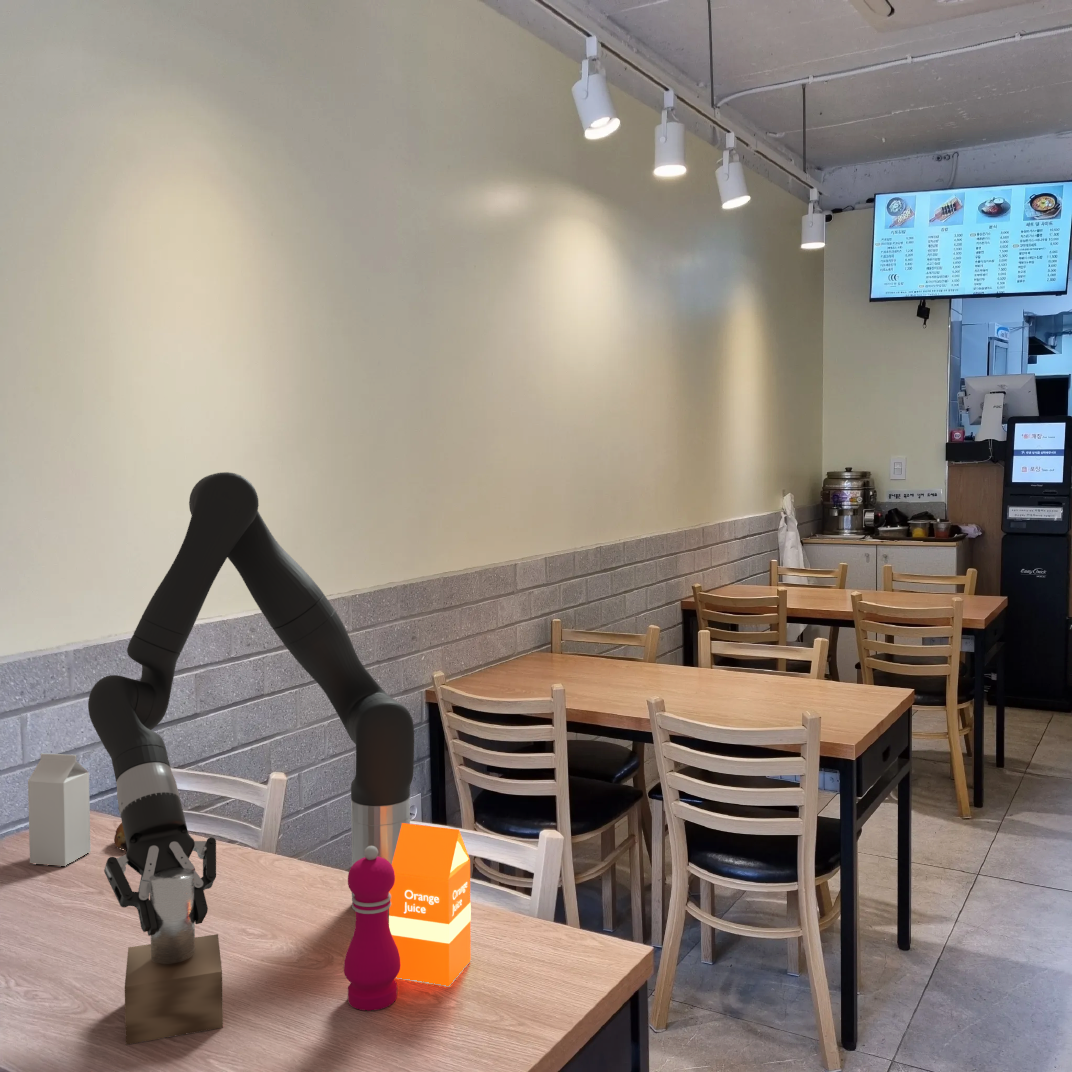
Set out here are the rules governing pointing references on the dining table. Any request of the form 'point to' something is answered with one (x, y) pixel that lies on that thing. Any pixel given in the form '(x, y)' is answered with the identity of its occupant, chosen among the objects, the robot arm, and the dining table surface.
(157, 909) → the shiny metal cylinder
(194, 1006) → the walnut block
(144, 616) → the robot arm
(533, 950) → the dining table surface
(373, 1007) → the pepper mill
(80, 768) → the milk carton
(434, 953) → the orange juice
